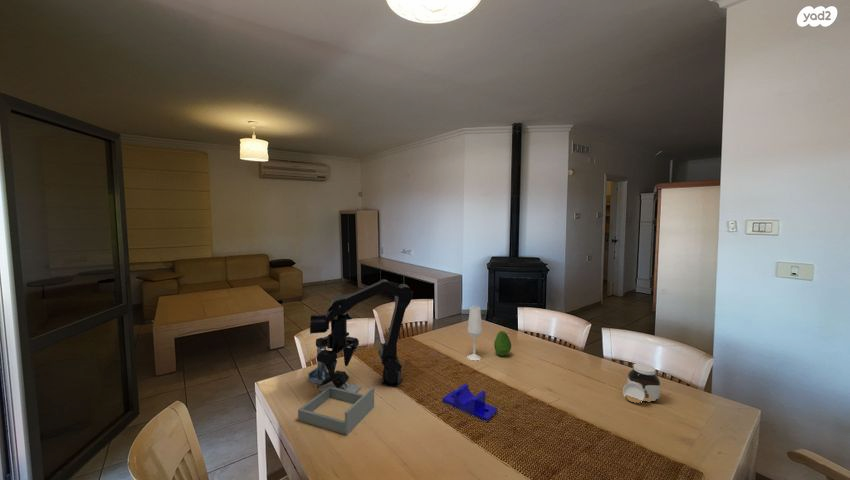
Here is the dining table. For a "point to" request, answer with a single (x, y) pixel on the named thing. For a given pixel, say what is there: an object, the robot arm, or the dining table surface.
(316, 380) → the blue gray open box
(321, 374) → the dark gray cup
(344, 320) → the robot arm
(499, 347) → the avocado
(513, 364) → the dining table surface
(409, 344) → the dining table surface
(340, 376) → the power plug
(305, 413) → the case
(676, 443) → the dining table surface
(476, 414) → the mounting bracket
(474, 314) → the champagne flute
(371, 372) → the dining table surface
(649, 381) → the spread jar
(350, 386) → the mat
